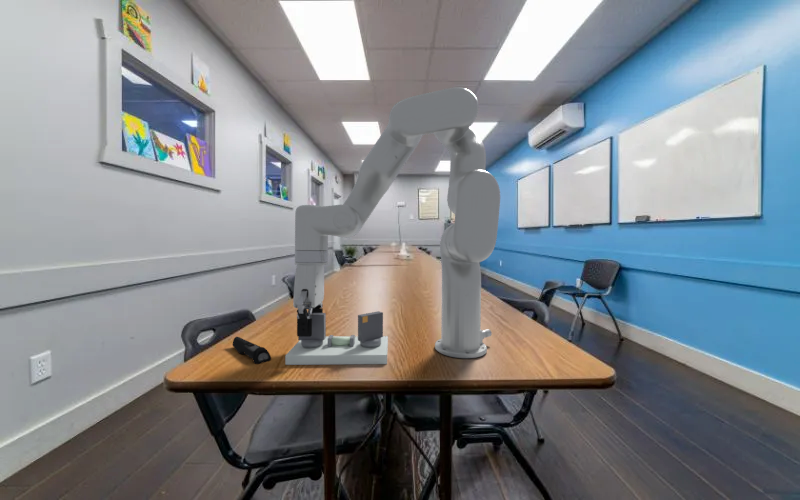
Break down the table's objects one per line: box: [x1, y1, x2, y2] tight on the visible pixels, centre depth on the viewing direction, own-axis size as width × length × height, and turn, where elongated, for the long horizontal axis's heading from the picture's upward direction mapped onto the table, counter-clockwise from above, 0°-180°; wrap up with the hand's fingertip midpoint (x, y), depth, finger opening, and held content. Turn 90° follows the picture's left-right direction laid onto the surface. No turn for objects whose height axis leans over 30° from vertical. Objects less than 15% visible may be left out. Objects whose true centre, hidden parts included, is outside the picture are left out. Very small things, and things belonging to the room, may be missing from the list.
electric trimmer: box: [232, 336, 272, 365], centre depth 70 cm, size 4×16×3 cm, turn 49°
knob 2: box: [357, 310, 384, 347], centre depth 71 cm, size 6×5×7 cm
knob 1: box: [297, 312, 327, 348], centre depth 71 cm, size 6×5×7 cm
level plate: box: [284, 334, 389, 366], centre depth 71 cm, size 22×13×4 cm, turn 92°
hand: (310, 329), depth 71 cm, fingers open, 9 cm apart
